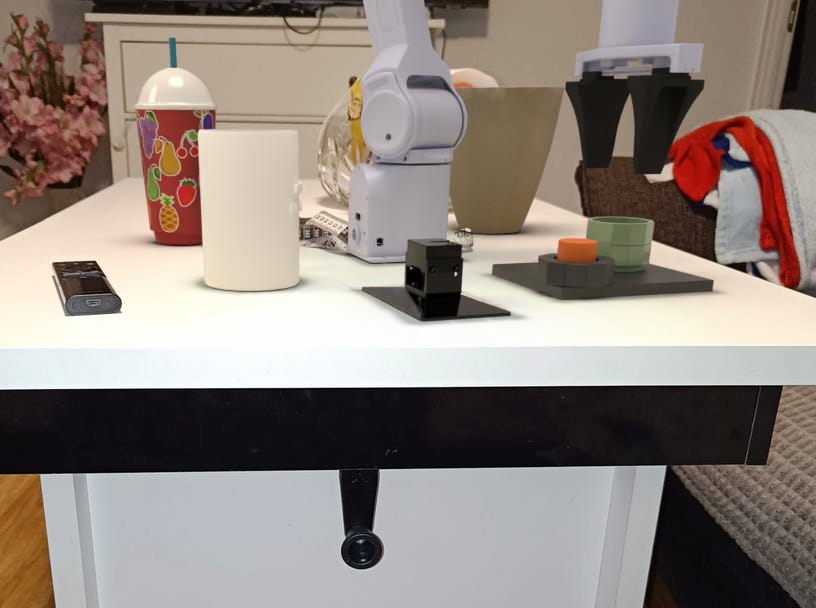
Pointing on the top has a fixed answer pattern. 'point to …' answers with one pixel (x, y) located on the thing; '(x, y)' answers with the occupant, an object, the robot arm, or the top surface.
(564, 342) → the top surface
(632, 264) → the bowl
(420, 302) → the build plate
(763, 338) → the top surface
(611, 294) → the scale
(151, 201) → the smoothie
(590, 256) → the button
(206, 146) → the mug
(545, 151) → the plant pot
